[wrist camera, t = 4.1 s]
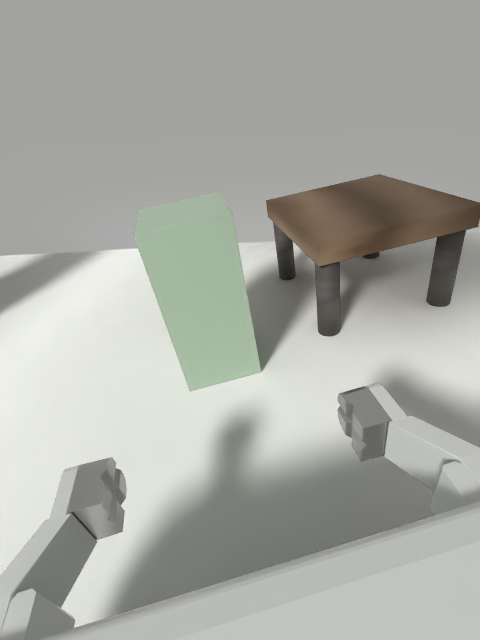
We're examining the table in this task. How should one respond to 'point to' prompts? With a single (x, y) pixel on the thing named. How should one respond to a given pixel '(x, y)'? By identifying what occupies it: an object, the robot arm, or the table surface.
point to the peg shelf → (369, 233)
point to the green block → (200, 287)
